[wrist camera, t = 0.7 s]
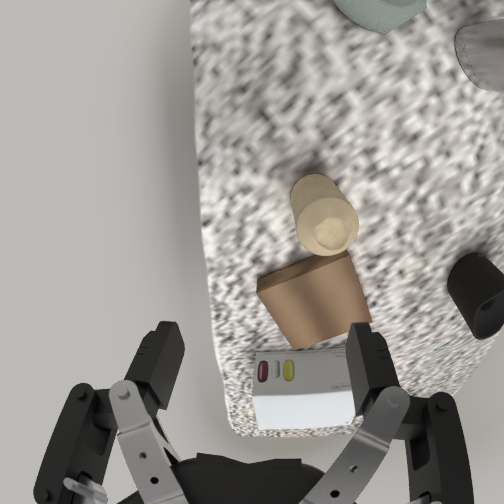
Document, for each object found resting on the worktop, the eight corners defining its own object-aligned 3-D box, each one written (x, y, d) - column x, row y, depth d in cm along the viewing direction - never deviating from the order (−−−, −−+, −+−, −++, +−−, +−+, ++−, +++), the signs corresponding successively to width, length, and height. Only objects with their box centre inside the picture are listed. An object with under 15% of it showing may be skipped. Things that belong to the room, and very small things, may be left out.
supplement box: (355, 343, 42) (367, 389, 34) (344, 386, 48) (351, 425, 40) (254, 350, 44) (250, 397, 36) (260, 391, 50) (257, 431, 42)
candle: (281, 204, 31) (284, 246, 22) (307, 163, 29) (322, 190, 20) (321, 227, 32) (337, 274, 23) (347, 189, 30) (376, 225, 21)
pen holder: (489, 277, 34) (519, 313, 25) (450, 307, 37) (475, 349, 28) (482, 238, 31) (519, 274, 22) (438, 272, 34) (470, 315, 25)
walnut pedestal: (343, 243, 33) (349, 255, 30) (367, 308, 38) (372, 322, 35) (257, 279, 36) (256, 293, 34) (293, 335, 41) (294, 350, 39)
